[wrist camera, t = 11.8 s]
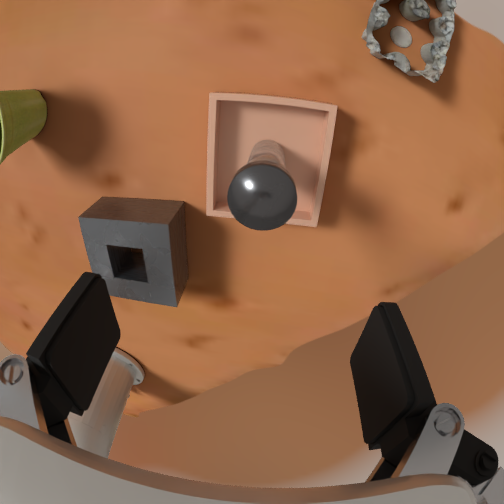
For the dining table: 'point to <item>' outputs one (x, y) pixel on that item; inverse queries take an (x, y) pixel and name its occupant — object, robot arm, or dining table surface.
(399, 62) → the egg carton
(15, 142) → the plant pot
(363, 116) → the dining table surface
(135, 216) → the socket block
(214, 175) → the tray
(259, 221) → the pin
